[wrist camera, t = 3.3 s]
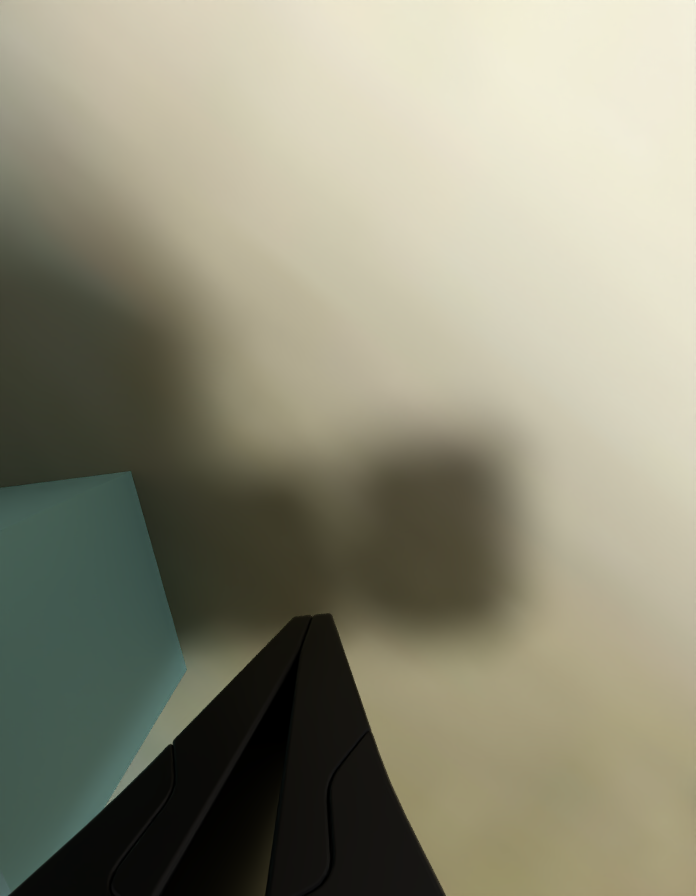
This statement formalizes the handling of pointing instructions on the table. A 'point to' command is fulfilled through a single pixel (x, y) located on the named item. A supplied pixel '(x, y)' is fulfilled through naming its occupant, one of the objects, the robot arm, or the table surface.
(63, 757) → the teal block
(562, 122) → the table surface
